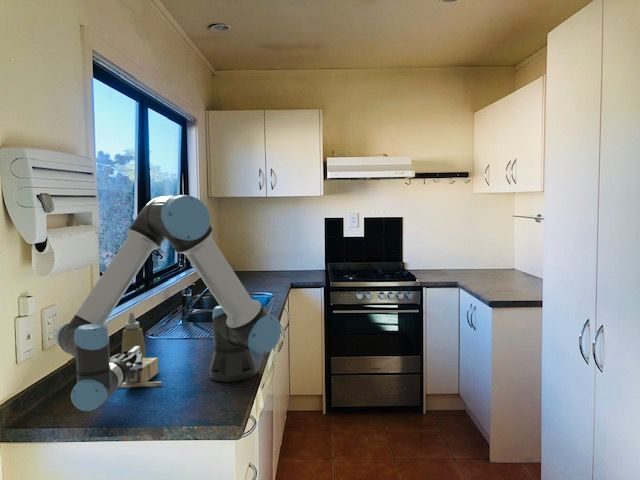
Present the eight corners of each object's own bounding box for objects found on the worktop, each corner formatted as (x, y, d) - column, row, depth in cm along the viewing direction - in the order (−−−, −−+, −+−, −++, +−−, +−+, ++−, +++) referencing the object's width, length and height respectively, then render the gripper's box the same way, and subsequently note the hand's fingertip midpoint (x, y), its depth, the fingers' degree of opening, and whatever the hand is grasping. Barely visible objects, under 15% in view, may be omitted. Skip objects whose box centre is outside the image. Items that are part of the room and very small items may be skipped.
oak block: (142, 385, 156) (158, 372, 172) (142, 368, 156) (157, 357, 172) (125, 385, 155) (143, 373, 172) (125, 368, 156) (142, 357, 172)
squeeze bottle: (120, 367, 178) (118, 316, 177) (123, 360, 186) (120, 311, 184) (145, 365, 180) (143, 314, 179) (146, 358, 188) (144, 309, 187)
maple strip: (161, 385, 160) (161, 381, 160) (160, 386, 159) (160, 382, 159) (115, 386, 159) (115, 383, 159) (114, 388, 158) (114, 384, 158)
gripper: (85, 390, 136) (117, 362, 160) (135, 388, 136) (159, 361, 160) (83, 362, 135) (115, 339, 159) (133, 361, 136) (158, 337, 159)
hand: (137, 350), depth 159 cm, fingers closed
